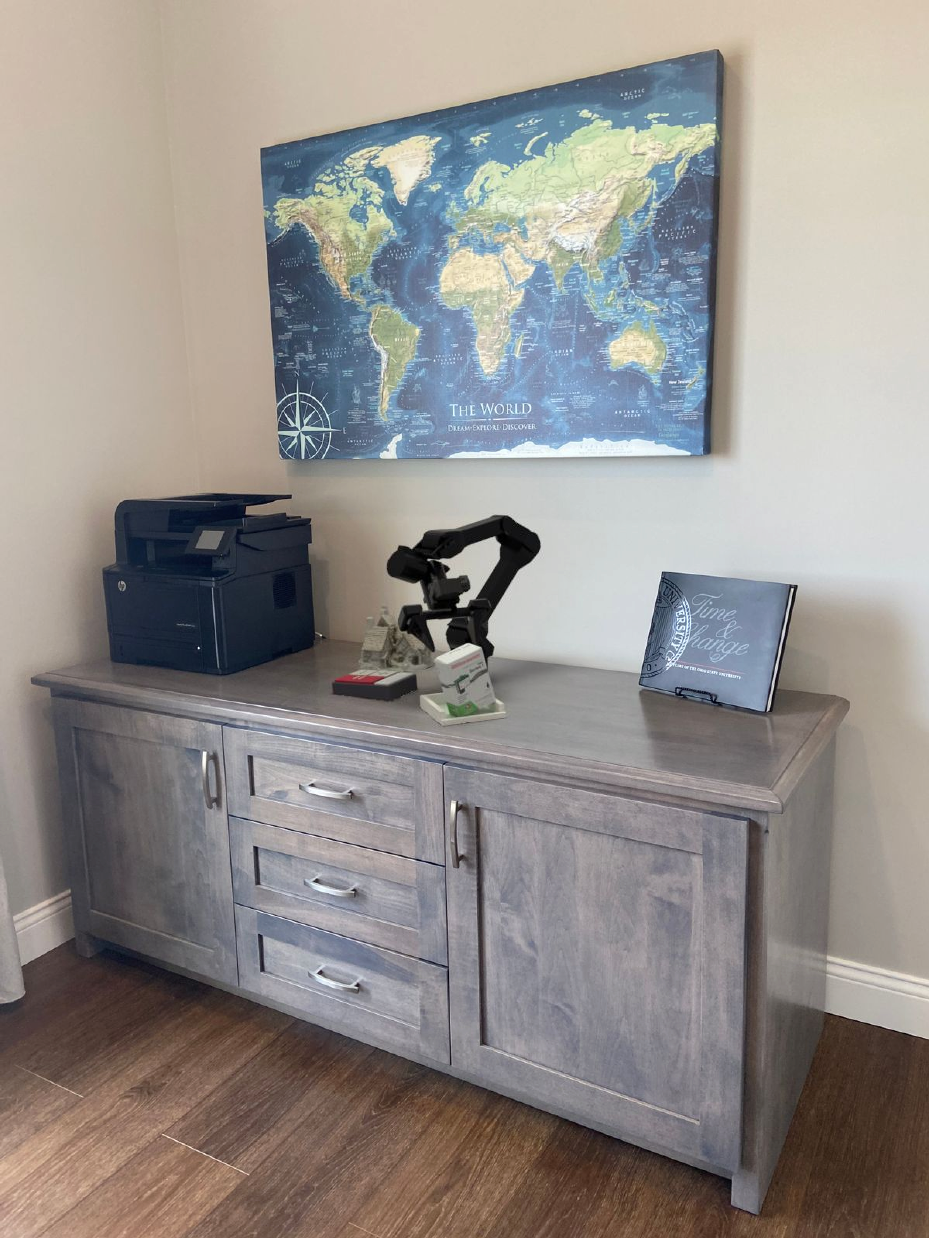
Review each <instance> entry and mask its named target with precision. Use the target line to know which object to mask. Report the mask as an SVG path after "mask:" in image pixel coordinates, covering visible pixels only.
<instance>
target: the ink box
mask: <svg viewBox="0 0 929 1238" xmlns="http://www.w3.org/2000/svg"><path fill="white" fill-rule="evenodd" d="M433 663H434V665H435V669H436V671H437V675H438V678H439V682H440V686H441V689H442V693H444V696H445V700H446V703H447V707H448V710H449V713H450V714H452V715H454V716H457V717H464V716H468V715H470V714H472V713H474V712H476V711H478V710H480V709H481V708H483V707H485V706H487V705H489V704H491V703H493V702H495V701H496V699H497V698H496V696H495V691H494V688H493V684H492V680H491V678H490V674H489V668H488V669H487V666H486V662H485V658H484V655H483V651H482V648H481V647H479V646H476V645H473V644H470V643H467V644H464V645H462V646H460V647H458V648H456V649H454V650H452V651H451V650H450V651H447V652H446V653H443V654H441V655H439V656H437V657H436V658H435V659H434V660H433Z"/></svg>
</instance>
